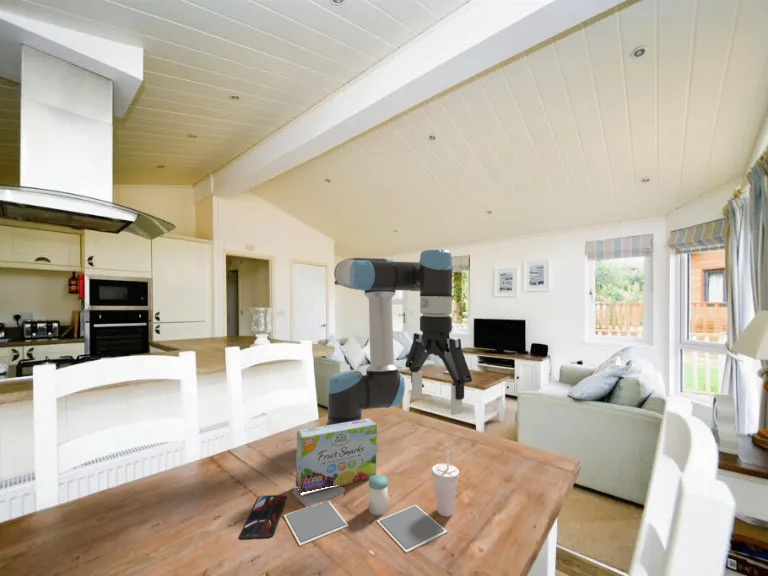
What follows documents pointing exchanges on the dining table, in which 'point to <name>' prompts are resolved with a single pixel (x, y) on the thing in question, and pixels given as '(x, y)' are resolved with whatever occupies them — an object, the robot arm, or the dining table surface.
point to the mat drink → (411, 528)
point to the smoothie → (445, 486)
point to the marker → (378, 495)
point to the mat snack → (314, 522)
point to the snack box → (336, 454)
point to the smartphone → (263, 517)
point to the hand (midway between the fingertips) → (435, 405)
